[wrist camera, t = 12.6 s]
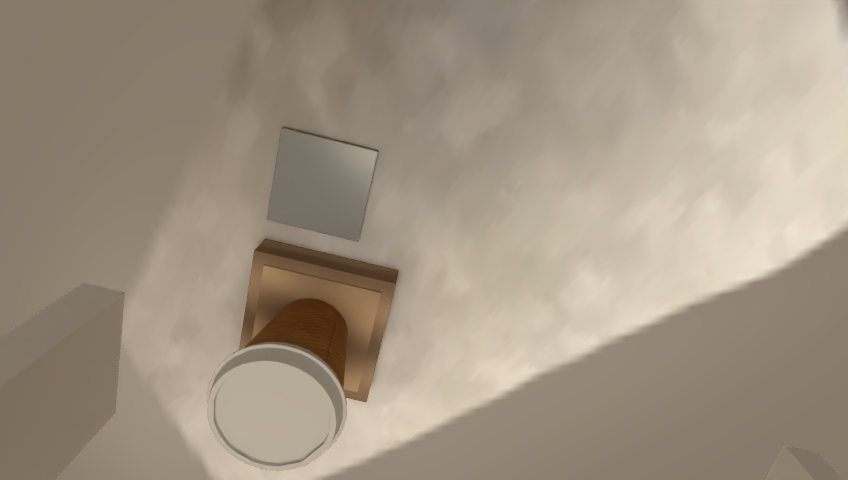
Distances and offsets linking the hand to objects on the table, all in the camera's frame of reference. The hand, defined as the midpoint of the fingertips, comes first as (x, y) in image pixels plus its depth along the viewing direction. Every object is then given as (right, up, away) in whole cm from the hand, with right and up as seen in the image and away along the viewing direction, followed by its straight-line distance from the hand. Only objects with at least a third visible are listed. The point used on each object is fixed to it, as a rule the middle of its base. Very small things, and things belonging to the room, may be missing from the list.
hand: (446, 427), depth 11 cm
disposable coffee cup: (-10, -4, +37) cm, 39 cm away
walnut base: (-10, -3, +40) cm, 41 cm away
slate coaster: (-9, +8, +36) cm, 38 cm away
